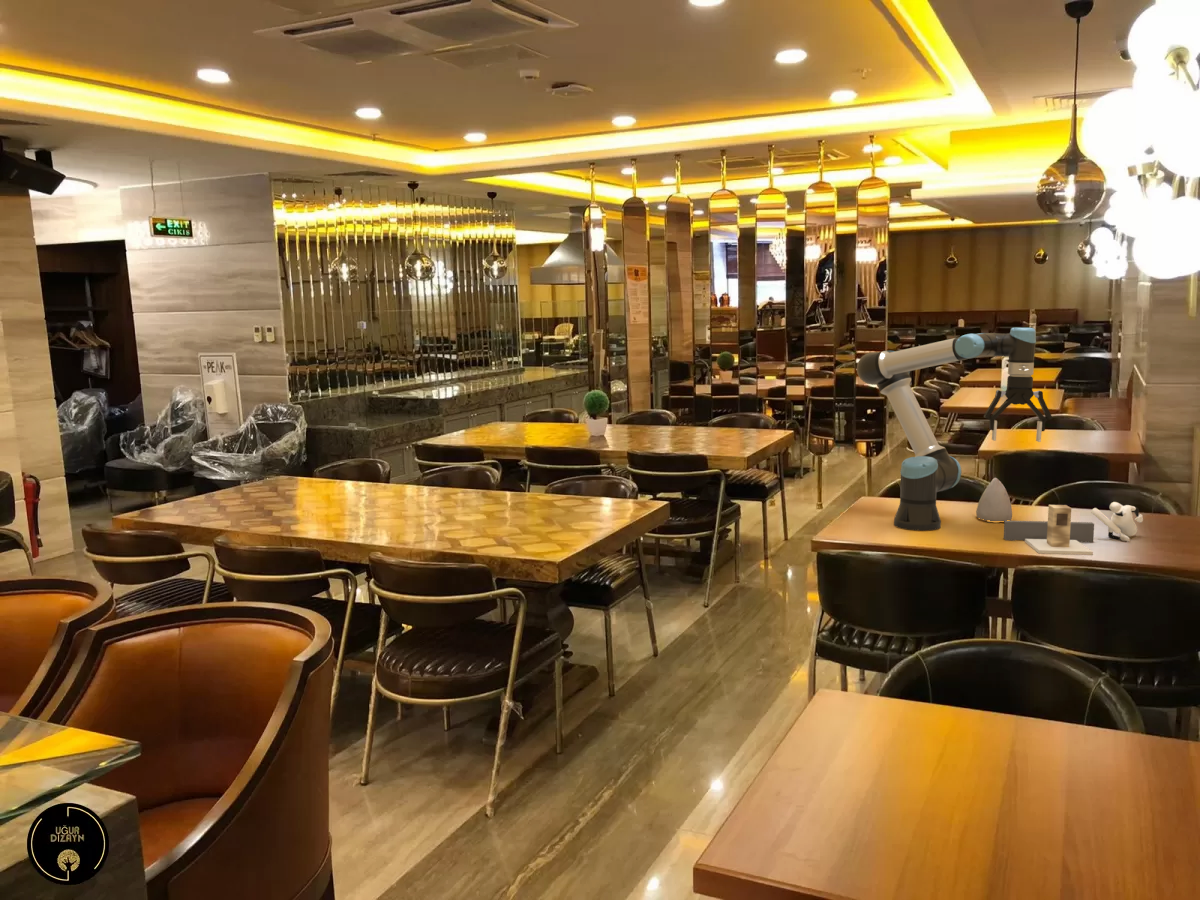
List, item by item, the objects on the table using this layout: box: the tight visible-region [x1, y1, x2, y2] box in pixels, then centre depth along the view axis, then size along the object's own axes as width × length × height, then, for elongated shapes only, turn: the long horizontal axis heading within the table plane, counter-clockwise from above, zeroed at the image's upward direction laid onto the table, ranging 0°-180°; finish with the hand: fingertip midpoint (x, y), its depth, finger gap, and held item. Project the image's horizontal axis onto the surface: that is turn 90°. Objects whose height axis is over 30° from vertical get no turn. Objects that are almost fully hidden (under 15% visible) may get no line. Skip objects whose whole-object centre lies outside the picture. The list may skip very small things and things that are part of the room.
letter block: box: [1047, 504, 1072, 547], centre depth 278 cm, size 5×5×12 cm
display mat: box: [1024, 539, 1094, 556], centre depth 279 cm, size 15×15×1 cm
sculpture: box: [975, 477, 1013, 521], centre depth 319 cm, size 13×12×15 cm
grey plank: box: [1003, 520, 1095, 543], centre depth 288 cm, size 26×2×6 cm, turn 80°
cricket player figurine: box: [1090, 501, 1144, 542], centre depth 288 cm, size 13×10×15 cm
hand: (1015, 440), depth 297 cm, fingers open, 13 cm apart
